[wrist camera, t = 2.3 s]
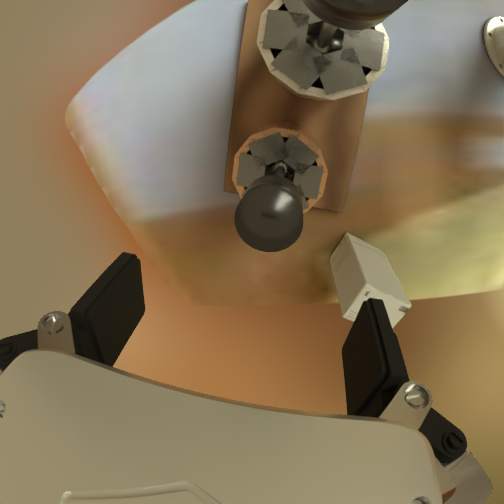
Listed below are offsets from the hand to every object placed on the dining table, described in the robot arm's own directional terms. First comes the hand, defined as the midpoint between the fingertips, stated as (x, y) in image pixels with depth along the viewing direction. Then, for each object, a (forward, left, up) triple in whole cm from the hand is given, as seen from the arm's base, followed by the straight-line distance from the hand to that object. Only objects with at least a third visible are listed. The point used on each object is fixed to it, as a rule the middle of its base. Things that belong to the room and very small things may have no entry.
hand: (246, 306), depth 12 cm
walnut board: (-1, -8, -34) cm, 35 cm away
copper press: (0, +1, -33) cm, 33 cm away
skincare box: (-15, +14, -34) cm, 40 cm away
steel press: (-2, -15, -33) cm, 36 cm away
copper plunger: (0, 0, -23) cm, 23 cm away
